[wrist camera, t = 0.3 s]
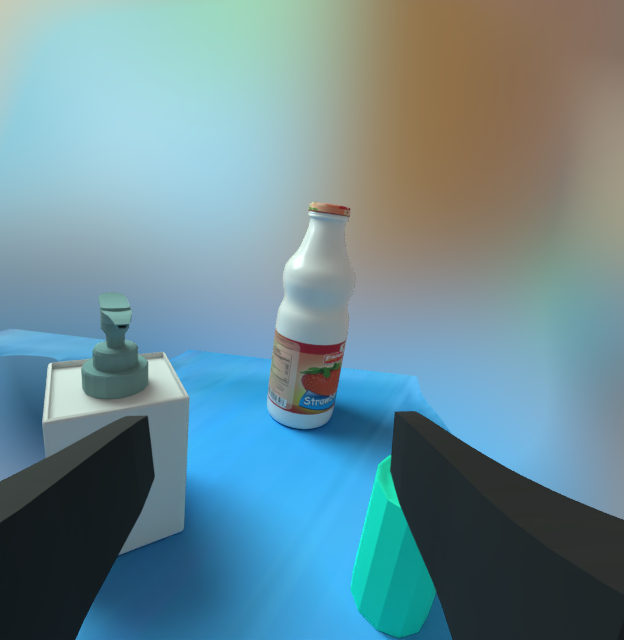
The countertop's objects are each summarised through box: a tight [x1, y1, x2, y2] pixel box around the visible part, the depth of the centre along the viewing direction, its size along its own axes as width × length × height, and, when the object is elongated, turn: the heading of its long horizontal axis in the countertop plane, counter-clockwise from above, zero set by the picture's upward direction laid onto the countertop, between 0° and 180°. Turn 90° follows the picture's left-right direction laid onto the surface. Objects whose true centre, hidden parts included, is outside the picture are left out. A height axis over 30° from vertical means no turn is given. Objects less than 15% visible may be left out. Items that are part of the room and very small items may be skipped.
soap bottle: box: [42, 293, 189, 555], centre depth 27 cm, size 9×9×19 cm
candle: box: [351, 455, 436, 638], centre depth 25 cm, size 6×6×12 cm
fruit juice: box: [267, 202, 355, 429], centre depth 45 cm, size 9×9×28 cm
